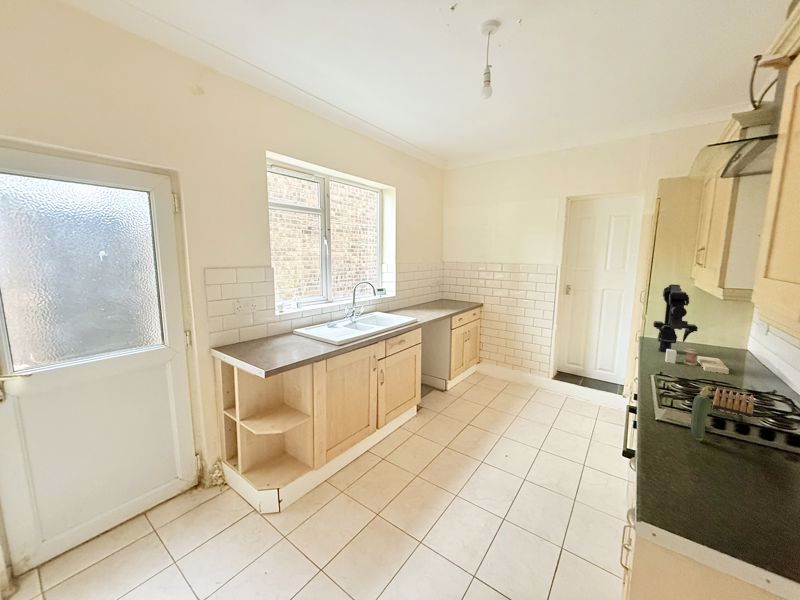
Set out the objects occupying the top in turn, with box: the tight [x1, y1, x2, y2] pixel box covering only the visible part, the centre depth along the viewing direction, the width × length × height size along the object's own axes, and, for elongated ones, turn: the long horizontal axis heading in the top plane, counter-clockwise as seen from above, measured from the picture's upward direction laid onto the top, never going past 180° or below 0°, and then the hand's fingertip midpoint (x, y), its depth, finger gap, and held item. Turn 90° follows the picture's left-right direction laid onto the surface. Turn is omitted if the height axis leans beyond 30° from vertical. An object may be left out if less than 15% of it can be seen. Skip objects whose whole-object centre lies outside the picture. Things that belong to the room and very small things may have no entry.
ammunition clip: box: [711, 387, 755, 418], centre depth 120 cm, size 11×2×12 cm, turn 44°
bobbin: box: [682, 348, 700, 366], centre depth 181 cm, size 6×6×8 cm
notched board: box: [696, 355, 730, 375], centre depth 176 cm, size 20×9×3 cm, turn 146°
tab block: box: [664, 348, 677, 364], centre depth 184 cm, size 4×4×7 cm
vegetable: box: [690, 385, 713, 442], centre depth 108 cm, size 4×4×20 cm
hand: (672, 340), depth 183 cm, fingers open, 9 cm apart
